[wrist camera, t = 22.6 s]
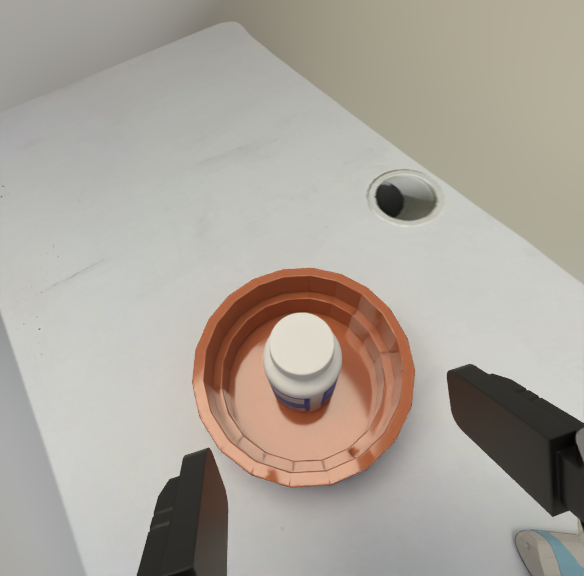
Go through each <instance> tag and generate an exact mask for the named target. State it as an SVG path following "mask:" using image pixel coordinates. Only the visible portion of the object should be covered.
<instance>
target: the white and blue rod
mask: <svg viewBox="0 0 584 576" xmlns="http://www.w3.org/2000/svg"><path fill="white" fill-rule="evenodd" d="M516 544H517V548H518V551H519V553H520V555H521V557H522V559H523V561H524V563H525V565H526V566H527V568H528V570H529V571H530V573H531V575H532V576H584V547H583V543H582V540H581V536H580V535H575V534H566V533H557V532H548V531H539V530H531V531H521V532H520V533H519V534H518V535H517V537H516Z"/></svg>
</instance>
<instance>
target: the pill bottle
mask: <svg viewBox="0 0 584 576" xmlns="http://www.w3.org/2000/svg"><path fill="white" fill-rule="evenodd" d="M263 365H264V370H265V373H266V376H267V378H268V381H269V383H270V385H271V388H272V390H273V392H274V394H275V396H276V398H277V399H278V401H279V402H280V403H281V404H282V405H283V406H285V407H286V408H288V409H290V410H292V411H296V412H311V411H314V410H317V409H319V408H321V407H322V406H323V405H325V404H326V403H327V402H328V400H329V399H330V398H331V396H332V394H333V392H334V389H335V386H336V383H337V380H338V377H339V374H340V371H341V366H342V352H341V347H340V344H339V342H338V340H337V338H336V337H335V335H334V334H333V333H332V331H331V329H330V327H329V326H328V325H327V323H326V322H325V321H323V320H322V319H321V318H319V317H317V316H315V315H313V314H309V313H294V314H291V315H288V316H286V317H284V318H283V319H281V320H280V321H279V322H278V323H277V324H276V325H275V327H274V328H273V330H272V332H271V335H270V336H269V338H268V340H267V342H266V344H265V347H264V352H263Z"/></svg>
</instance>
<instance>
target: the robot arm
mask: <svg viewBox="0 0 584 576" xmlns="http://www.w3.org/2000/svg"><path fill="white" fill-rule="evenodd" d="M447 383H448V390H449V398H450V405H451V411H452V415H453V417H454V420H455V421H456V423H457V425H458V426H459V428H460V429H461V430H462V431H463V432H464V433H465V434H466V435H467V436H468V437H469V438H470V439H472V440H473V441H474V442H475V443H476V444H477V445H478V446H479V447H480V448H481V449H482V450H483V451H484V452H485V453H486V454H487V455H488V456H489V457H490V458H491V459H493V460H494V461H495V462H496V463H497V464H498V465H499V466H500V467H501V468H502V469H503V470H504V471H505V472H506V473H507V474H508V475H509V476H510V477H511V478H512V479H513V480H515V481H516V482H517V483H518V484H519V485H520V486H521V487H522V488H523V489H524V490H525V491H526V492H527V493H528V494H529V495H530V496H531V497H532V498H533V499H534V500H536V501H537V502H538V503H539V504H540V505H541V506H542V507H543V508H544V509H545V510H546V511H547V512H548V513H549V514H550V515H551V516H552V517H554V516H556V515H559V514H561V513H564V512H567V511H569V510H570V511H571V512H572V513H573V514H574V515H575V516H576V517H577V521H578V529H579V533H580V536H581V540H582V543H583V547H584V423H583V422H581V421H579V420H578V419H576V418H574V417H573V416H571V415H569V414H568V413H566V412H564V411H563V410H561V409H559V408H558V407H556V406H554V405H553V404H551V403H549V402H548V401H546V400H544V399H543V398H539V397H538V395H536V394H534V393H533V392H531V391H529V390H528V391H527V390H526V388H524V387H523V386H521V385H519V384H518V383H516V382H514V381H513V380H511V379H508V378H505V377H502V376H498V375H495V374H490V375H489V374H487V373H485V372H484V371H482V370H481V369H479V368H478V367H476V366H474V365H472V364H468V365H465V366H462V367H459V368H456V369H452V370H449V371H448V372H447ZM227 541H228V501H227V495H226V490H225V487H224V484H223V481H222V478H221V476H220V473H219V470H218V467H217V465H216V462H215V459H214V456H213V454H212V451H211V450H210V448H206V449H203V450H200V451H197V452H194V453H191V454H188V455H185V456H184V458H183V462H182V466H181V471H180V476H178V477H175V478H172V479H169V481H168V482H167V484H166V485H165V487H164V488H163V490H162V491H161V493H160V494H159V496H158V499H157V503H156V507H155V510H154V517H153V518H152V522H151V525H150V532H149V533H148V536H147V540H146V544H145V547H144V551H143V555H142V559H141V562H140V566H139V570H138V573H137V576H227Z"/></svg>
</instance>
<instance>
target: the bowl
mask: <svg viewBox="0 0 584 576" xmlns="http://www.w3.org/2000/svg"><path fill="white" fill-rule="evenodd" d="M294 313H309V314H313V315H315V316H317V317H319V318H321V319H322V320H323V321H325V322H326V323H327V325H328V326H329V327H330V329H331V331H332V333H333V334H334V335H335V337H336V338H337V340H338V342H339V344H340V347H341V352H342V366H341V371H340V374H339V377H338V380H337V383H336V386H335V389H334V392H333V394H332V396H331V398H330V399H329V400H328V402H327V403H326V404H325V405H323V406H322V407H321V408H319V409H317V410H314V411H311V412H296V411H292V410H290V409H288V408H286V407H285V406H283V405H282V404H281V403H280V402H279V401H278V399H277V398H276V396H275V394H274V392H273V390H272V388H271V385H270V383H269V381H268V378H267V376H266V373H265V370H264V365H263V352H264V347H265V344H266V342H267V340H268V338H269V336H270V335H271V332H272V330H273V328H274V327H275V325H276V324H277V323H278V322H279V321H280V320H281V319H283V318H284V317H286V316H288V315H291V314H294ZM414 376H415V368H414V364H413V360H412V355H411V351H410V347H409V342H408V338H407V337H406V335H405V333H404V331H403V330H402V328H401V326H400V325H399V323H398V321H397V320H396V318H395V316H394V314H393V313H392V311H391V310H390V308H389V307H388V306H387V305H386V304H384V303H383V302H382V301H381V300H380V299H379V298H378V297H377V296H376V295H375V294H374V293H373V292H372V291H370V290H369V289H368V288H367V287H365V286H363V285H361V284H359V283H357V282H355V281H354V280H352V279H350V278H348V277H346V276H344V275H342V274H338V273H334V272H329V271H324V270H319V269H315V268H300V269H283V270H279V271H276V272H273V273H270V274H267V275H264V276H261V277H258V278H255V279H253V280H251V281H250V282H248V283H247V284H245V285H244V286H242V287H241V288H239V289H238V290H236V291H235V292H233V293H232V294H230V295H229V296H228V297H227V298H226V299H225V301H224V302H223V303H222V304H221V305H220V307H219V308H218V309H217V310H216V311H215V312H214V314H213V315H212V316H211V317H210V318H209V320H208V322H207V325H206V327H205V329H204V332H203V334H202V336H201V338H200V341H199V343H198V345H197V348H196V351H195V361H194V370H193V380H192V385H193V389H194V394H195V398H196V403H197V407H198V412H199V416H200V419H201V421H202V422H203V424H204V425H205V427H206V429H207V430H208V432H209V434H210V435H211V437H212V438H213V440H214V442H215V443H216V445H217V447H218V448H219V450H221V452H223V453H224V454H225V455H226V456H228V457H229V458H230V459H231V460H233V461H234V462H235V463H236V464H238V465H239V466H240V467H242V468H243V469H244V470H245V471H247V472H248V473H249V474H251V475H253V476H256V477H259V478H262V479H265V480H268V481H271V482H274V483H277V484H280V485H284V486H287V487H308V486H327V485H333V484H335V483H337V482H339V481H342V480H344V479H346V478H348V477H351V476H353V475H355V474H357V473H360V472H362V471H364V470H366V469H367V468H369V467H370V466H371V465H372V464H373V463H374V462H375V461H376V460H377V459H378V458H379V457H380V456H381V455H382V454H383V453H384V452H385V451H386V450H387V449H388V448H389V447H390V446H391V445H392V444H393V443H394V442H395V440H396V439H397V437H398V435H399V433H400V431H401V428H402V426H403V424H404V422H405V420H406V418H407V415H408V413H409V411H410V409H411V406H412V397H413V387H414Z"/></svg>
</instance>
